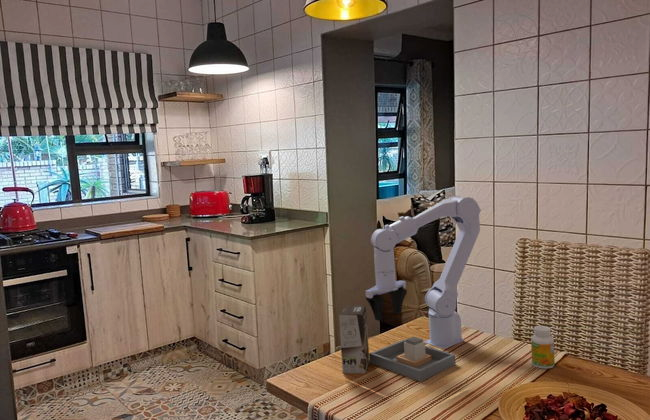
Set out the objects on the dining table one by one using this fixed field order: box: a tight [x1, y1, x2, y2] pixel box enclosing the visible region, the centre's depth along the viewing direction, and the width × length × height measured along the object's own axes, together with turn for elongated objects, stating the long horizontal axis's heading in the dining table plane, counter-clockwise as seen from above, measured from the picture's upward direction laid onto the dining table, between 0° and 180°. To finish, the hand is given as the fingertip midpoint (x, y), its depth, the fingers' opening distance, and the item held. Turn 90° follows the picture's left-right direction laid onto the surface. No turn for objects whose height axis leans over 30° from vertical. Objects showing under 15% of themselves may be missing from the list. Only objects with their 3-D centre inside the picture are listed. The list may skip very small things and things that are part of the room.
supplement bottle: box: [530, 325, 556, 369], centre depth 130 cm, size 5×5×10 cm
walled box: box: [369, 339, 457, 382], centre depth 136 cm, size 14×18×3 cm
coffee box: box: [338, 304, 370, 374], centre depth 137 cm, size 9×6×16 cm
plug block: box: [404, 336, 426, 362], centre depth 138 cm, size 4×4×6 cm
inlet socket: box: [396, 353, 432, 367], centre depth 139 cm, size 7×7×1 cm
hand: (387, 316), depth 148 cm, fingers open, 7 cm apart
